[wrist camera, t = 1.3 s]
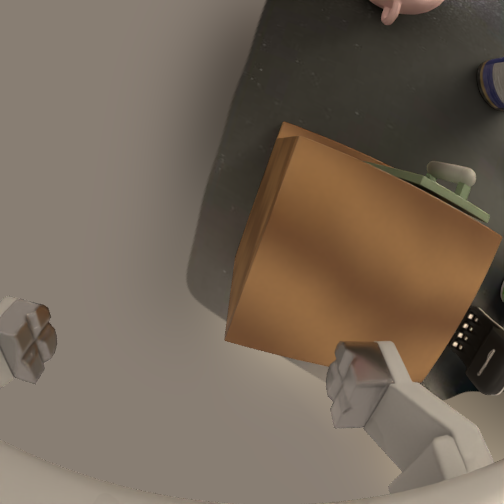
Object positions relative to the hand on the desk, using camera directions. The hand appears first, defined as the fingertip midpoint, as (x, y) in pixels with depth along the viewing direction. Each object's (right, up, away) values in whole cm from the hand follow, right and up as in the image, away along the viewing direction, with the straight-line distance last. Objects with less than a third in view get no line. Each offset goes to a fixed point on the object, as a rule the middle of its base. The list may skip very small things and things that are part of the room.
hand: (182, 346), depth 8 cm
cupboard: (+9, +5, +22) cm, 25 cm away
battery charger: (+29, -7, +27) cm, 41 cm away
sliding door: (+15, +11, +19) cm, 26 cm away
